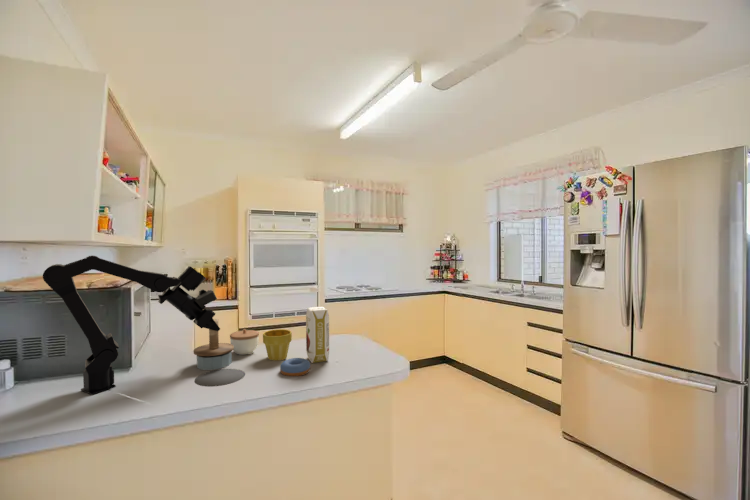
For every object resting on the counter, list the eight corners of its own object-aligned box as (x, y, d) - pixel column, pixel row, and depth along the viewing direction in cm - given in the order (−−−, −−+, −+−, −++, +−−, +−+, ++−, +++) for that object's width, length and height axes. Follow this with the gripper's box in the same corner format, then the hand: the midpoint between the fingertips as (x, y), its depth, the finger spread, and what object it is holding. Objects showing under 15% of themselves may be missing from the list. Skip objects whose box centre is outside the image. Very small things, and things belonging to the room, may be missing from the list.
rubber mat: (216, 391, 108) (216, 389, 108) (183, 382, 115) (183, 380, 115) (255, 374, 121) (255, 373, 121) (223, 367, 128) (223, 366, 128)
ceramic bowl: (211, 372, 122) (211, 359, 122) (190, 367, 127) (189, 354, 127) (237, 363, 132) (237, 350, 132) (217, 358, 137) (216, 346, 137)
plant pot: (285, 363, 131) (284, 336, 131) (258, 362, 133) (257, 335, 133) (296, 354, 141) (295, 329, 141) (270, 353, 143) (270, 328, 143)
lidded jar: (250, 358, 137) (249, 333, 137) (224, 356, 140) (223, 332, 139) (264, 349, 148) (263, 326, 148) (240, 348, 150) (239, 325, 150)
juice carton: (325, 354, 141) (324, 305, 141) (330, 361, 133) (330, 309, 133) (305, 357, 139) (305, 307, 138) (309, 364, 131) (309, 311, 130)
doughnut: (295, 379, 116) (295, 365, 116) (273, 375, 121) (273, 361, 122) (316, 373, 124) (316, 359, 125) (295, 368, 130) (295, 355, 130)
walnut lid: (223, 356, 123) (222, 324, 122) (185, 355, 124) (185, 324, 123) (239, 345, 136) (239, 316, 135) (205, 344, 137) (205, 316, 136)
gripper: (208, 286, 119) (242, 315, 126) (194, 280, 134) (226, 307, 141) (181, 313, 114) (219, 342, 122) (170, 304, 129) (204, 331, 136)
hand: (217, 329), depth 130 cm, fingers closed on walnut lid, 3 cm apart
